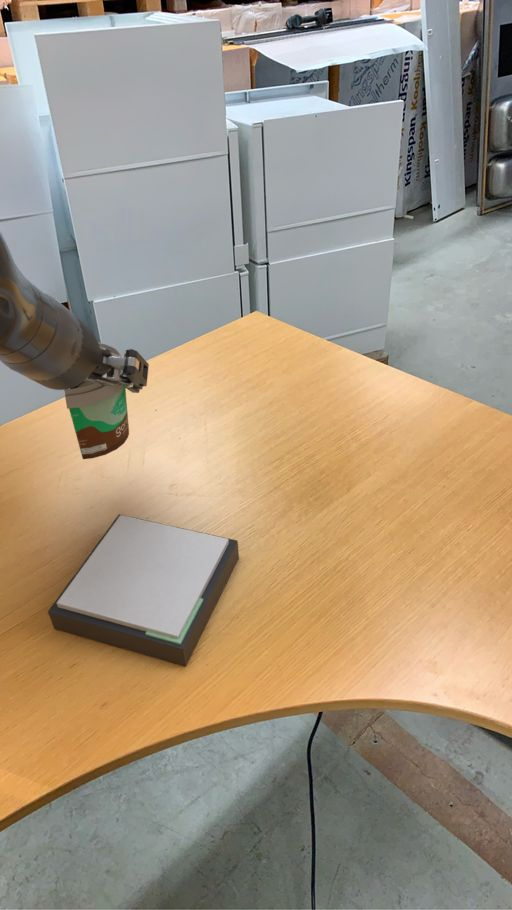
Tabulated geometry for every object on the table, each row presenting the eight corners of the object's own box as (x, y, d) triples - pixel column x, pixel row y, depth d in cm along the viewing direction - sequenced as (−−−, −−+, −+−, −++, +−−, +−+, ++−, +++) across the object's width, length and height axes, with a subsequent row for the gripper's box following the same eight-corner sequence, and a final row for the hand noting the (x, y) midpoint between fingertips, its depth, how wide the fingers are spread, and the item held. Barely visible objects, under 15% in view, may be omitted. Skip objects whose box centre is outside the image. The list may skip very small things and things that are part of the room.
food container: (134, 463, 75) (121, 389, 69) (80, 467, 75) (63, 392, 69) (142, 406, 85) (131, 336, 79) (94, 409, 85) (80, 339, 79)
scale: (53, 628, 72) (45, 606, 70) (122, 530, 84) (117, 509, 82) (185, 666, 68) (181, 644, 65) (239, 557, 80) (237, 535, 77)
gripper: (120, 303, 61) (169, 354, 77) (-23, 300, 63) (54, 350, 79) (111, 382, 60) (163, 417, 76) (-33, 376, 62) (47, 411, 78)
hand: (107, 383), depth 77 cm, fingers closed on food container, 6 cm apart
